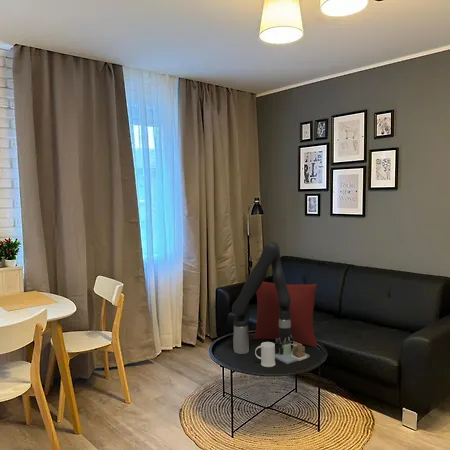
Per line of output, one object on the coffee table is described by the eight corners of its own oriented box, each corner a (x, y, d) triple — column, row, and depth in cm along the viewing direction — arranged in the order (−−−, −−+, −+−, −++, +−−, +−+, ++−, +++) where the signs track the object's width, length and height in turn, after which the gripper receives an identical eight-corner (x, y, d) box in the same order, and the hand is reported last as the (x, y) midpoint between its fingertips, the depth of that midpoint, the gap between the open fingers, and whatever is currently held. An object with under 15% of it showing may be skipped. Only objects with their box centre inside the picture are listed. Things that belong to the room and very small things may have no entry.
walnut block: (293, 355, 265) (292, 346, 264) (299, 353, 267) (299, 344, 267) (298, 358, 260) (298, 348, 260) (304, 356, 263) (304, 346, 263)
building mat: (271, 356, 267) (271, 354, 266) (293, 349, 276) (293, 348, 276) (287, 364, 255) (287, 362, 254) (310, 357, 264) (310, 355, 264)
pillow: (320, 343, 287) (320, 281, 283) (314, 351, 274) (314, 286, 270) (258, 335, 305) (257, 276, 302) (250, 342, 292) (249, 281, 288)
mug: (253, 365, 254) (253, 345, 253) (257, 360, 262) (256, 340, 261) (274, 367, 250) (273, 347, 249) (276, 361, 258) (276, 342, 257)
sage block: (279, 353, 269) (279, 343, 269) (285, 351, 272) (285, 342, 271) (284, 355, 265) (284, 346, 264) (290, 353, 268) (290, 344, 267)
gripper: (289, 322, 274) (289, 348, 275) (271, 326, 266) (272, 353, 267) (297, 325, 268) (297, 351, 269) (279, 329, 260) (280, 357, 261)
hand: (285, 352), depth 268 cm, fingers closed on sage block, 5 cm apart
